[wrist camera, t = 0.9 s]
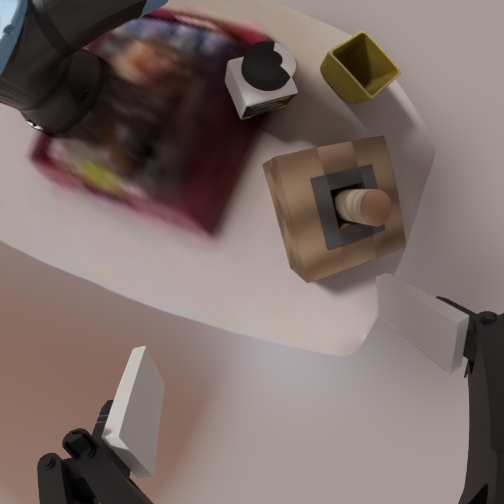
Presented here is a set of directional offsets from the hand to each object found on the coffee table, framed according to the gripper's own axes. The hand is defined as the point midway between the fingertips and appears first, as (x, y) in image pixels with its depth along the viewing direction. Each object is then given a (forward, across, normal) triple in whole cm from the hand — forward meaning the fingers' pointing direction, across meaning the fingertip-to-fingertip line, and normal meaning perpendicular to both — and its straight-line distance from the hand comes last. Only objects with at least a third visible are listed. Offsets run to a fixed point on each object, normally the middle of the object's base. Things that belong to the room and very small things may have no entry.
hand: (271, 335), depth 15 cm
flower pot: (+28, +24, +21) cm, 43 cm away
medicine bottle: (+28, +9, +21) cm, 36 cm away
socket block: (+28, +16, +2) cm, 32 cm away
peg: (+22, +16, +2) cm, 27 cm away
